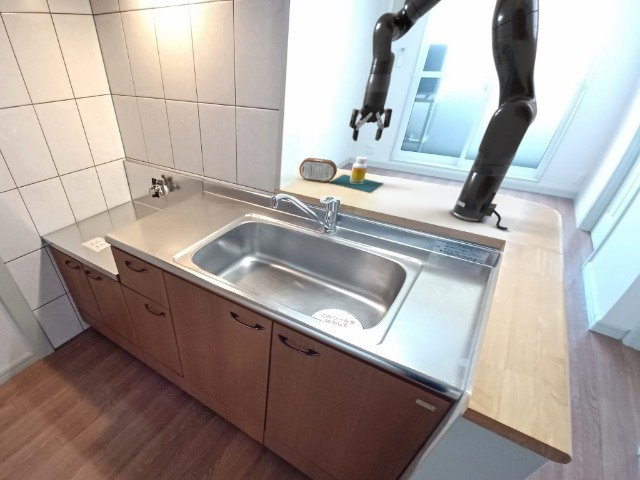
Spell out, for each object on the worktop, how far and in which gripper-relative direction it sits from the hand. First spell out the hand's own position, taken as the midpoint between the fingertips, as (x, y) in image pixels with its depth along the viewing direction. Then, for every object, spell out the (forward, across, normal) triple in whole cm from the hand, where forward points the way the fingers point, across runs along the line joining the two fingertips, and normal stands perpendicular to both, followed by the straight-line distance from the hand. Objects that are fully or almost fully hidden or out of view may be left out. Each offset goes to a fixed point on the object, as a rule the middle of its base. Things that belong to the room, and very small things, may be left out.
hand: (366, 140), depth 122 cm
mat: (+16, 0, 0) cm, 16 cm away
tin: (+16, -16, +4) cm, 23 cm away
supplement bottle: (+16, 0, 0) cm, 16 cm away
